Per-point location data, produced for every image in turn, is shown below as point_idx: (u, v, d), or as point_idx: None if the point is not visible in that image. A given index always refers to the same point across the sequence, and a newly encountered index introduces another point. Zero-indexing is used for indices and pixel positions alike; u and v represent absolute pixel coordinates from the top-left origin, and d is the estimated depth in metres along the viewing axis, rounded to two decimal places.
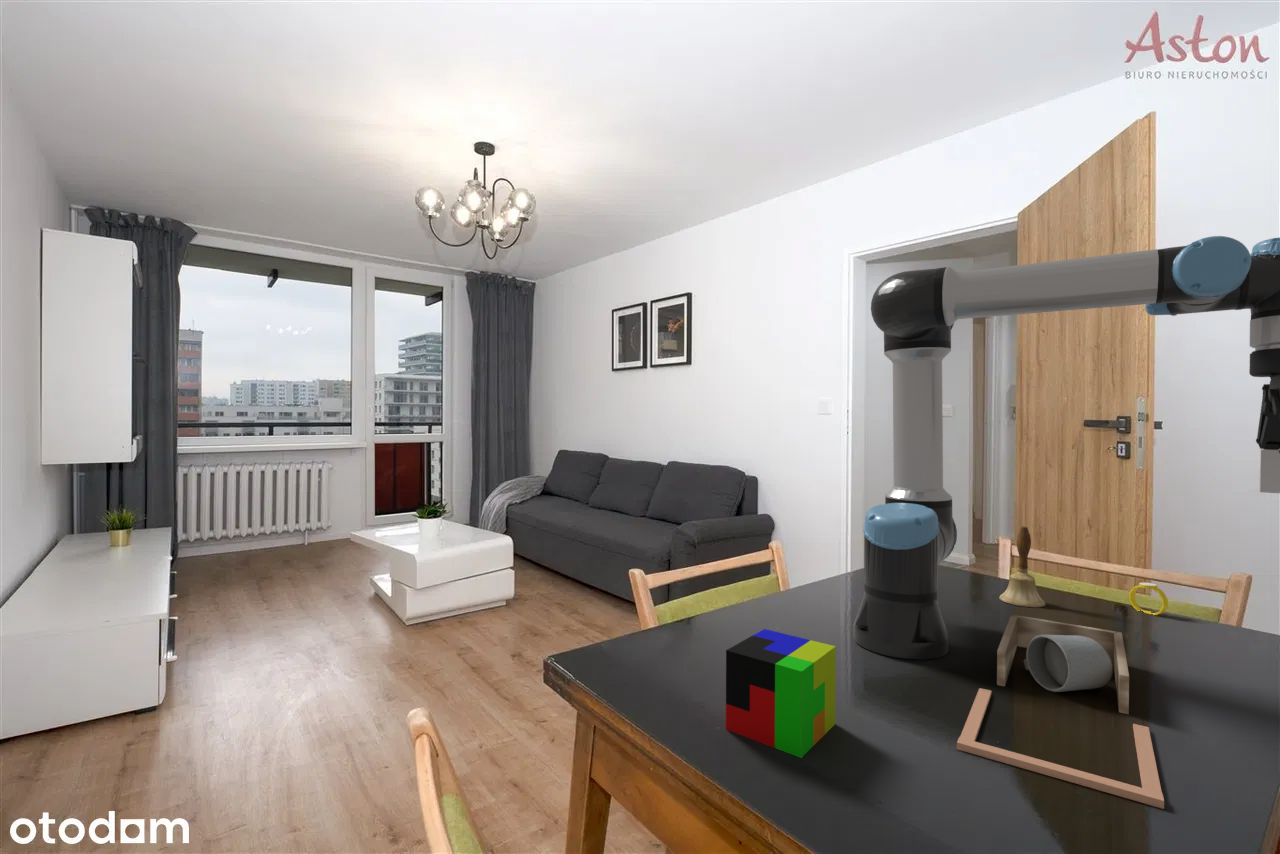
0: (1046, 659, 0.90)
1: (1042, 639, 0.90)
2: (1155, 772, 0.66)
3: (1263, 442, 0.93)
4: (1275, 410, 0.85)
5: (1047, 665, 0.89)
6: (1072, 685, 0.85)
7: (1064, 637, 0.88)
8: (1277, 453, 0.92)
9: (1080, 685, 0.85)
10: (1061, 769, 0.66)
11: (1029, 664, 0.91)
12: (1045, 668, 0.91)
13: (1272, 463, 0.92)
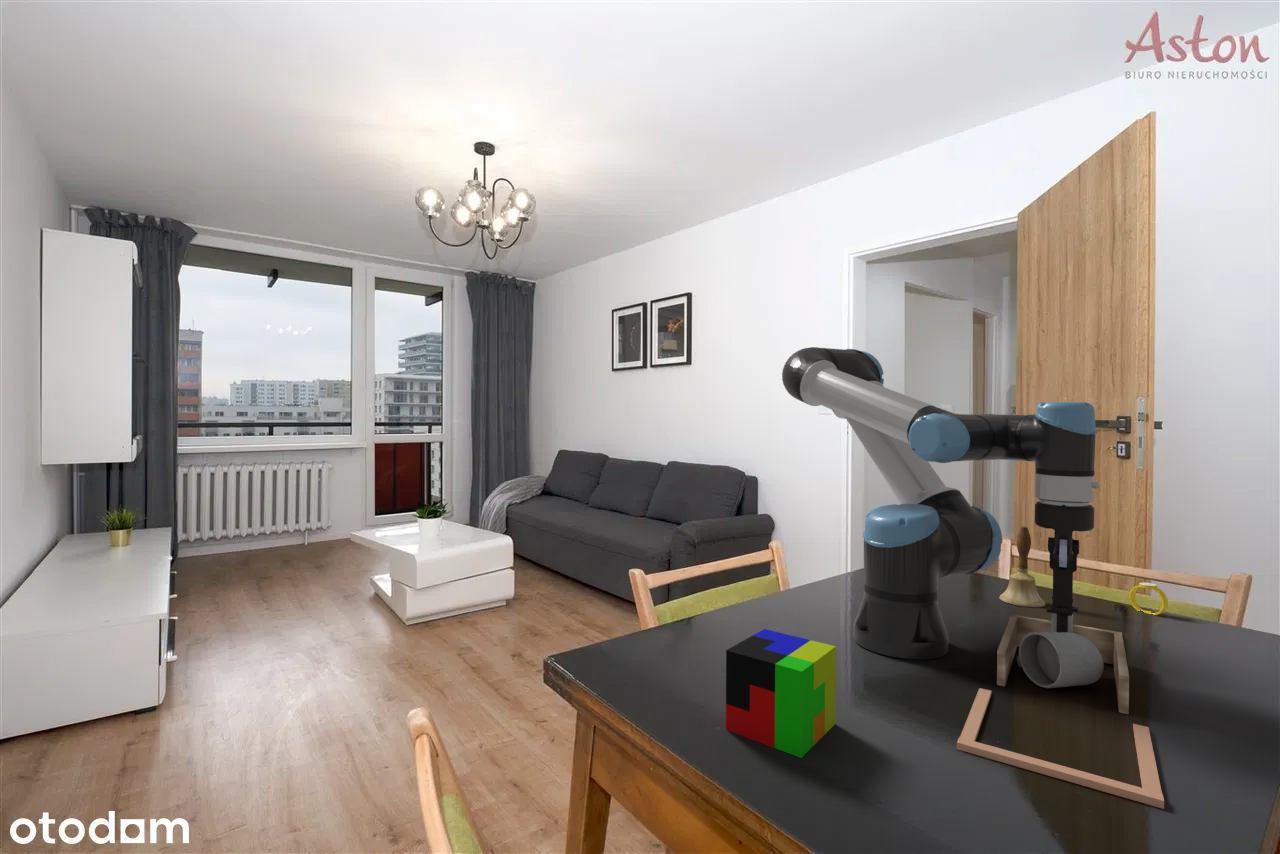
0: (1038, 656, 0.91)
1: (1034, 636, 0.91)
2: (1155, 772, 0.66)
3: None
4: None
5: (1039, 662, 0.90)
6: (1064, 681, 0.86)
7: (1056, 634, 0.89)
8: None
9: (1071, 681, 0.86)
10: (1061, 769, 0.66)
11: (1022, 661, 0.92)
12: (1037, 665, 0.92)
13: None
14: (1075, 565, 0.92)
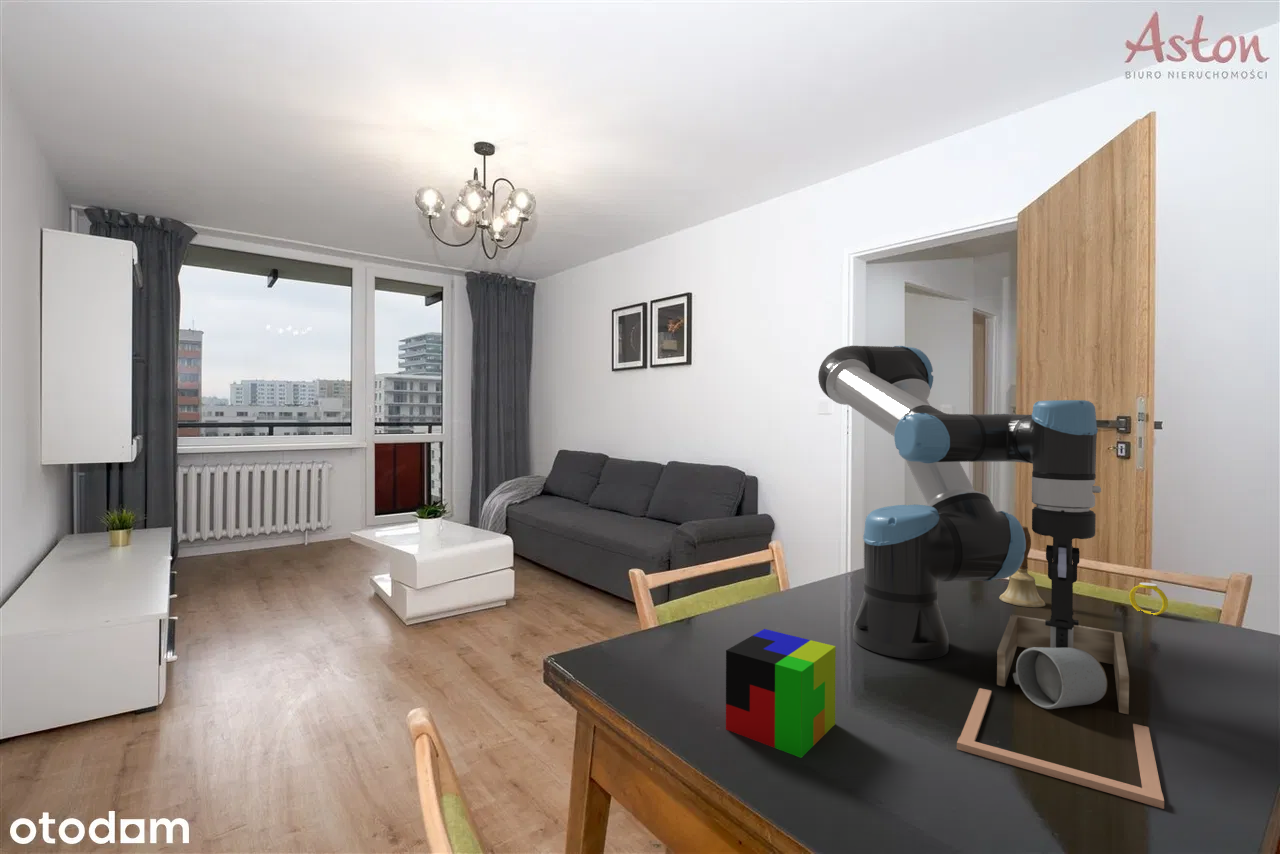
0: (1037, 673, 0.84)
1: (1033, 652, 0.85)
2: (1155, 772, 0.66)
3: None
4: (1048, 576, 0.88)
5: (1038, 680, 0.84)
6: (1066, 702, 0.79)
7: (1056, 650, 0.82)
8: None
9: (1074, 702, 0.80)
10: (1061, 769, 0.66)
11: (1019, 678, 0.85)
12: (1036, 682, 0.86)
13: None
14: (1075, 575, 0.85)
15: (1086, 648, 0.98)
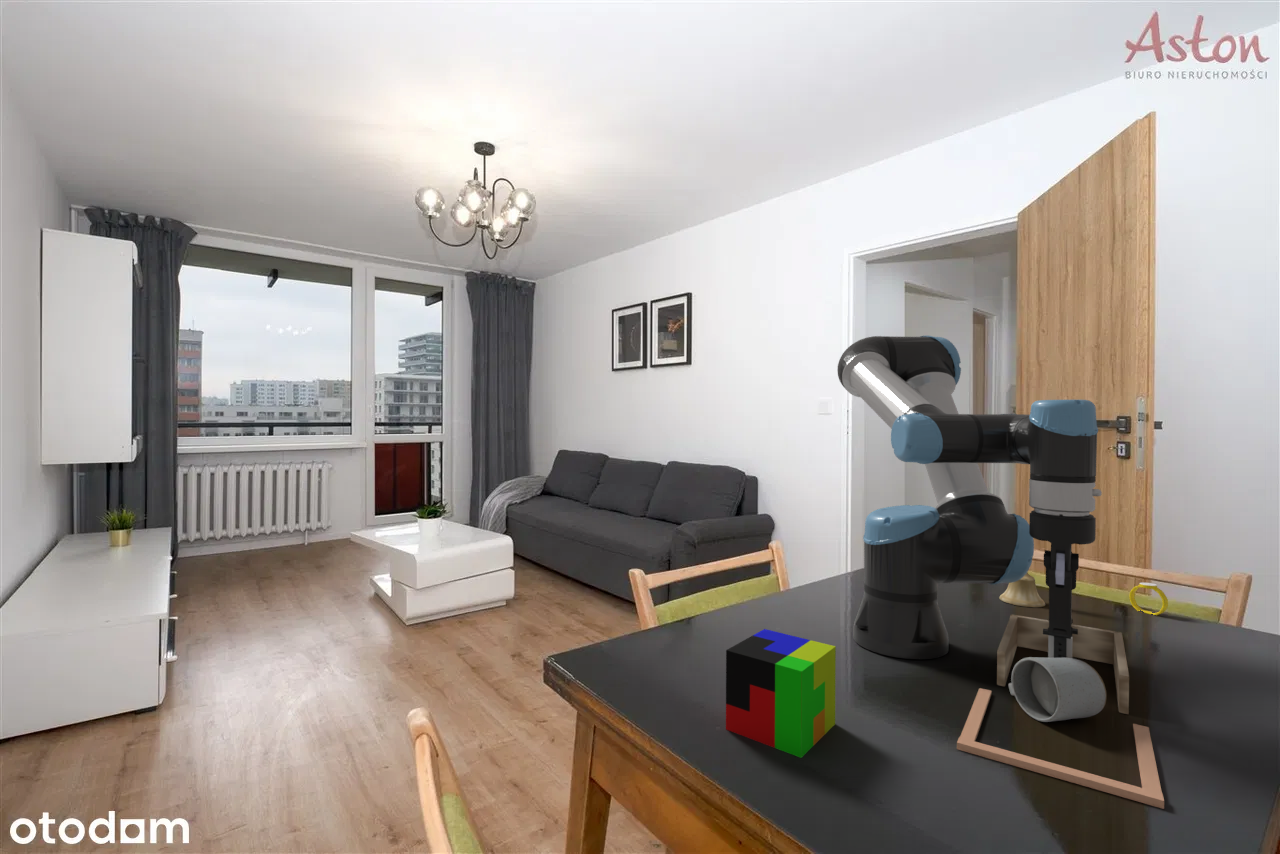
0: (1033, 684, 0.81)
1: (1029, 662, 0.81)
2: (1155, 772, 0.66)
3: None
4: None
5: (1034, 691, 0.81)
6: (1062, 715, 0.76)
7: (1053, 660, 0.79)
8: None
9: (1071, 715, 0.76)
10: (1061, 769, 0.66)
11: (1015, 689, 0.82)
12: (1032, 694, 0.82)
13: None
14: (1074, 582, 0.82)
15: (1086, 648, 0.98)
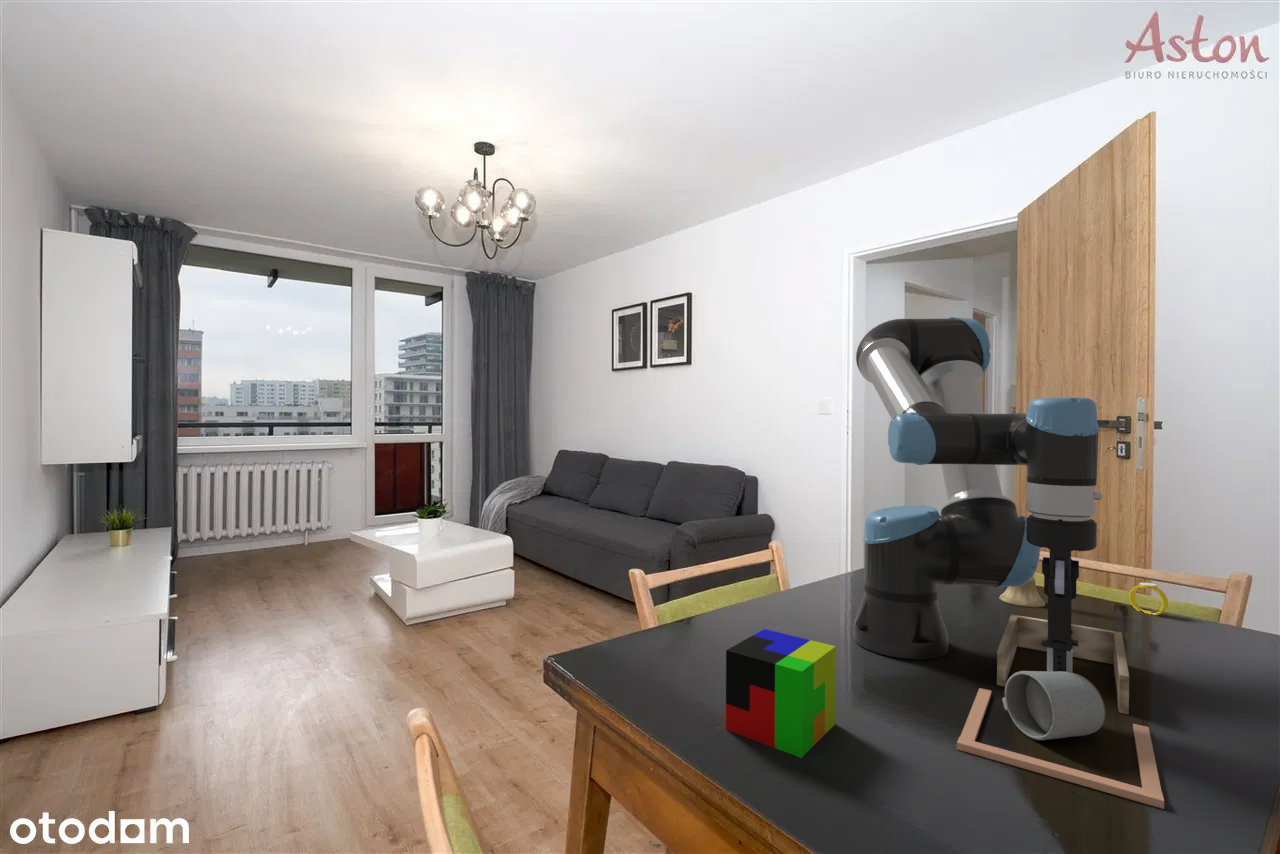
0: (1028, 699, 0.76)
1: (1023, 676, 0.77)
2: (1155, 772, 0.66)
3: None
4: (1044, 591, 0.79)
5: (1029, 706, 0.76)
6: (1057, 733, 0.71)
7: (1048, 675, 0.74)
8: None
9: (1067, 733, 0.72)
10: (1061, 769, 0.66)
11: (1008, 705, 0.78)
12: (1027, 709, 0.78)
13: None
14: (1074, 591, 0.77)
15: (1086, 648, 0.98)
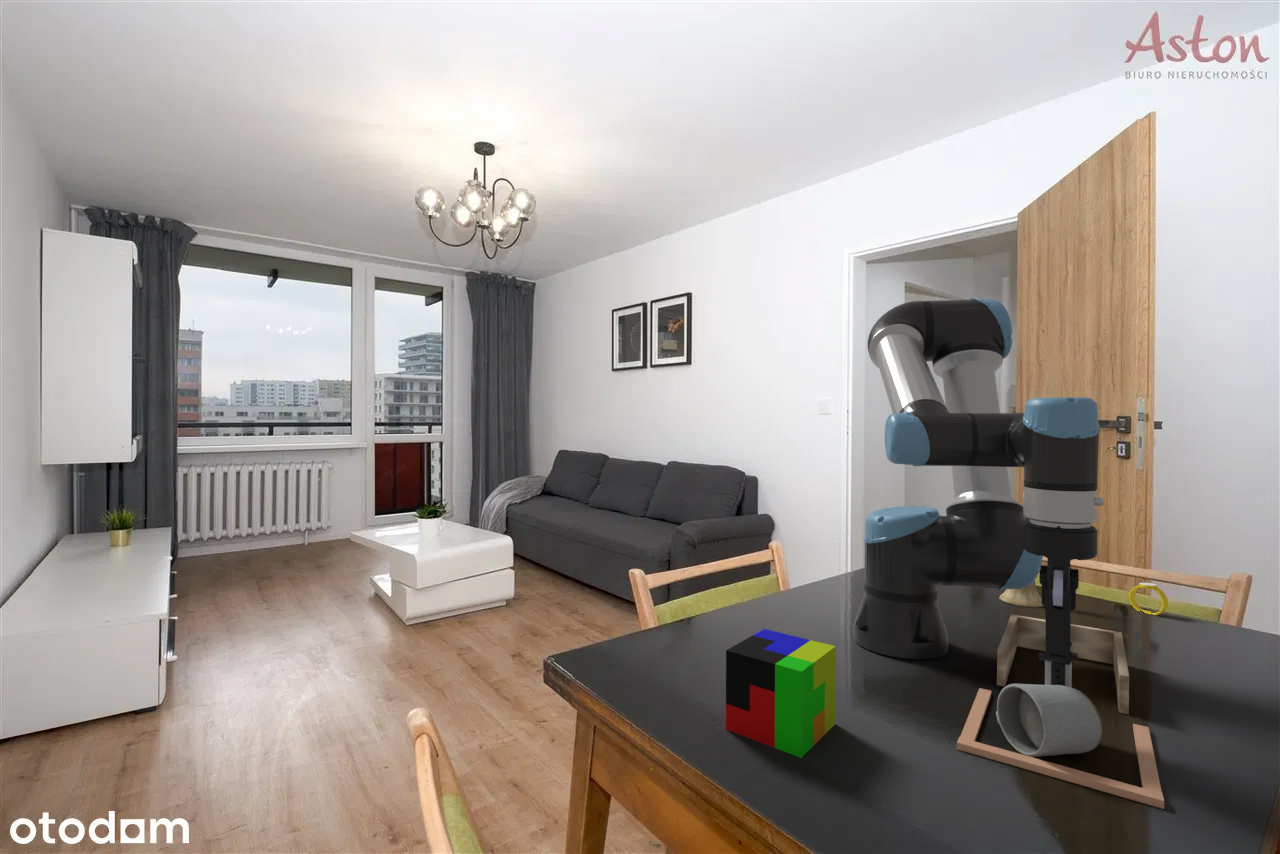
0: (1021, 713, 0.73)
1: (1016, 689, 0.73)
2: (1155, 772, 0.66)
3: None
4: (1042, 602, 0.75)
5: (1022, 721, 0.73)
6: (1049, 750, 0.68)
7: (1042, 688, 0.71)
8: None
9: (1059, 750, 0.68)
10: (1061, 769, 0.66)
11: (1000, 718, 0.74)
12: (1020, 724, 0.74)
13: None
14: (1074, 602, 0.73)
15: (1086, 648, 0.98)
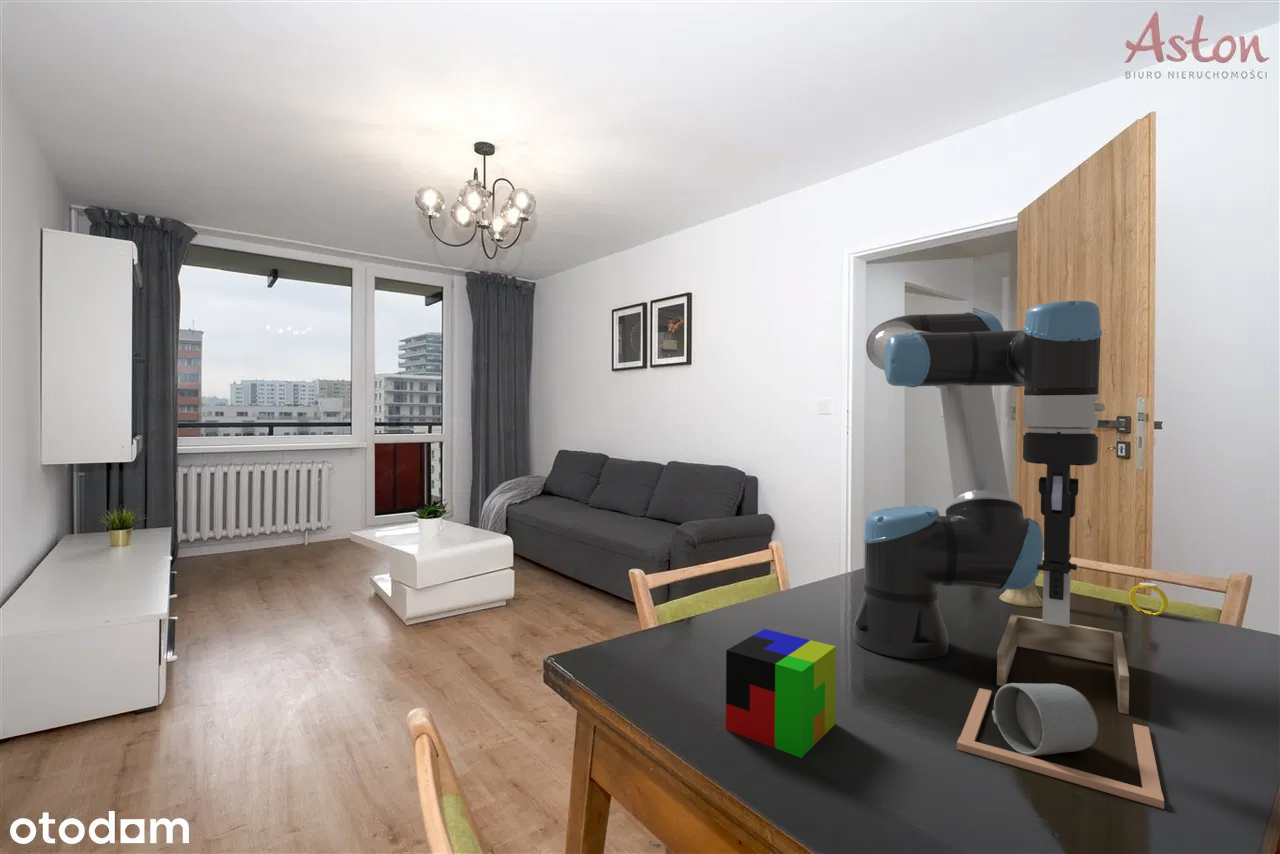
0: (1018, 713, 0.73)
1: (1013, 688, 0.74)
2: (1155, 772, 0.66)
3: None
4: (1041, 511, 0.74)
5: (1019, 720, 0.73)
6: (1048, 749, 0.68)
7: (1039, 687, 0.71)
8: None
9: (1057, 749, 0.69)
10: (1061, 769, 0.66)
11: (997, 718, 0.74)
12: (1017, 723, 0.74)
13: None
14: (1073, 509, 0.72)
15: (1086, 648, 0.98)
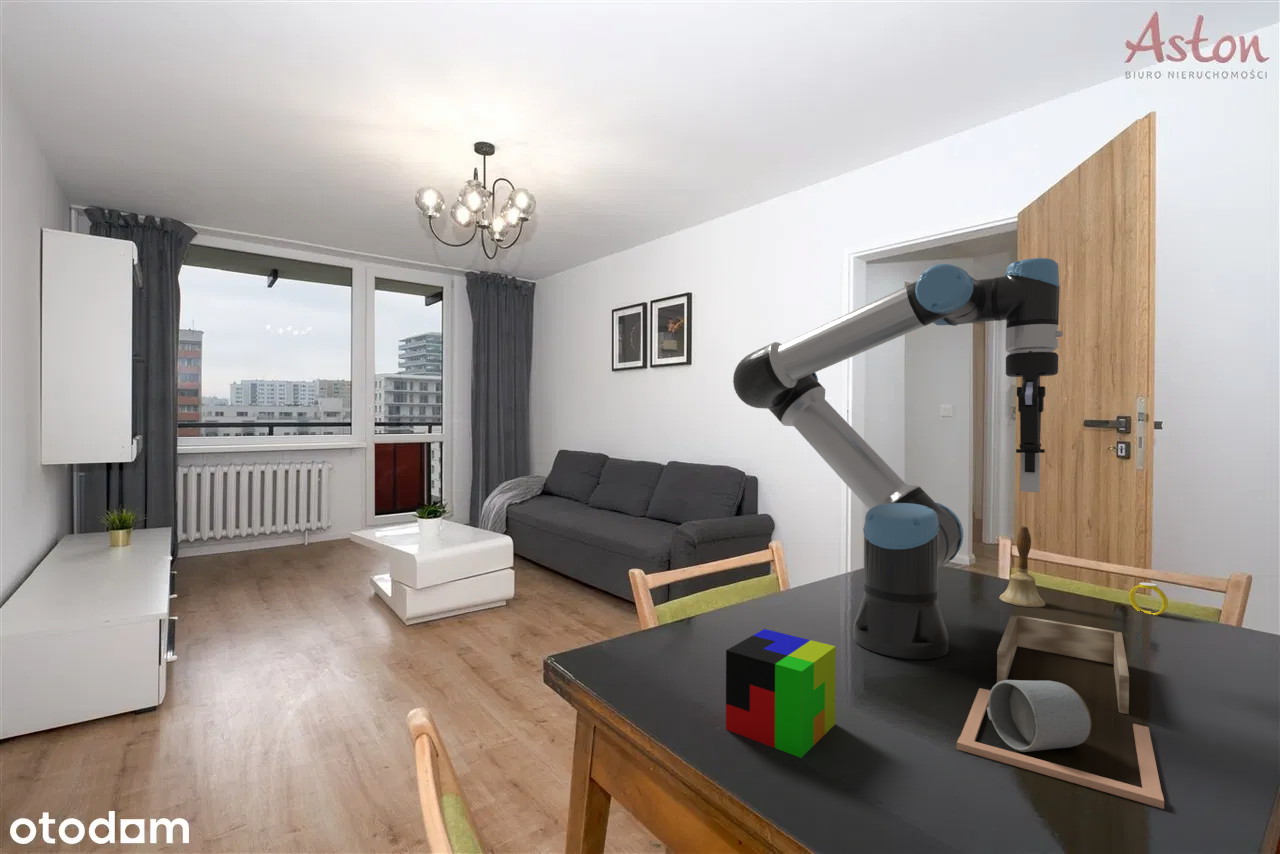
0: (1012, 709, 0.74)
1: (1007, 685, 0.75)
2: (1155, 772, 0.66)
3: None
4: (1018, 410, 1.04)
5: (1013, 717, 0.74)
6: (1041, 745, 0.69)
7: (1033, 684, 0.72)
8: None
9: (1051, 745, 0.69)
10: (1061, 769, 0.66)
11: (992, 715, 0.75)
12: (1011, 719, 0.75)
13: None
14: (1041, 406, 1.01)
15: (1086, 648, 0.98)
